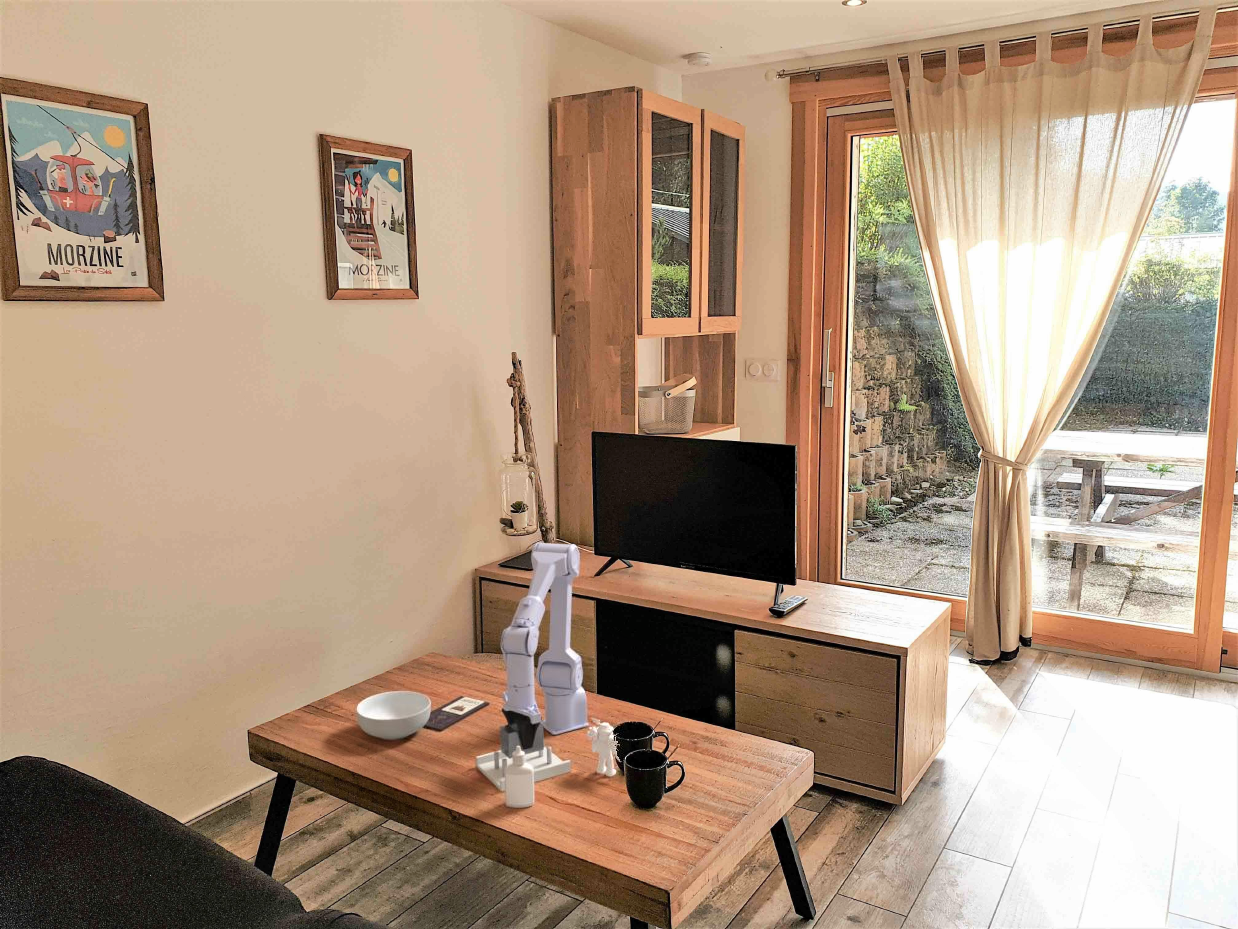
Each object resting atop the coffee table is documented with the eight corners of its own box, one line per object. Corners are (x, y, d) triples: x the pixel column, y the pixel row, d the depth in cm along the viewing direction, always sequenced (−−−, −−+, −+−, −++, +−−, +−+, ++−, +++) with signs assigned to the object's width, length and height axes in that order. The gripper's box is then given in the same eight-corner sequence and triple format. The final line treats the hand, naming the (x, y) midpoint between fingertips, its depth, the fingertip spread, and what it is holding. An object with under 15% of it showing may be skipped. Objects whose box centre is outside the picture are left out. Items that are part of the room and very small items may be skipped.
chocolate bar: (411, 722, 227) (461, 696, 242) (412, 725, 227) (461, 699, 242) (441, 729, 222) (489, 702, 237) (441, 733, 222) (489, 706, 238)
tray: (543, 748, 212) (542, 730, 212) (571, 771, 202) (570, 752, 201) (476, 766, 204) (475, 748, 204) (501, 791, 193) (501, 771, 193)
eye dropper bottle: (525, 812, 185) (523, 753, 183) (501, 805, 188) (499, 748, 186) (538, 802, 189) (536, 745, 187) (514, 796, 192) (513, 739, 190)
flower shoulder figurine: (583, 770, 202) (582, 716, 200) (595, 763, 205) (594, 710, 203) (617, 782, 197) (616, 727, 195) (629, 775, 200) (628, 720, 198)
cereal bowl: (389, 755, 210) (388, 725, 209) (342, 736, 220) (340, 707, 219) (447, 729, 224) (445, 700, 223) (400, 712, 234) (398, 684, 233)
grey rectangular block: (534, 742, 206) (534, 717, 205) (543, 749, 202) (543, 724, 202) (501, 751, 202) (500, 726, 201) (509, 758, 198) (508, 733, 198)
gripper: (488, 675, 204) (491, 736, 206) (518, 697, 192) (520, 761, 194) (518, 669, 208) (520, 728, 210) (549, 690, 195) (551, 753, 197)
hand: (522, 743), depth 202 cm, fingers closed on grey rectangular block, 4 cm apart
